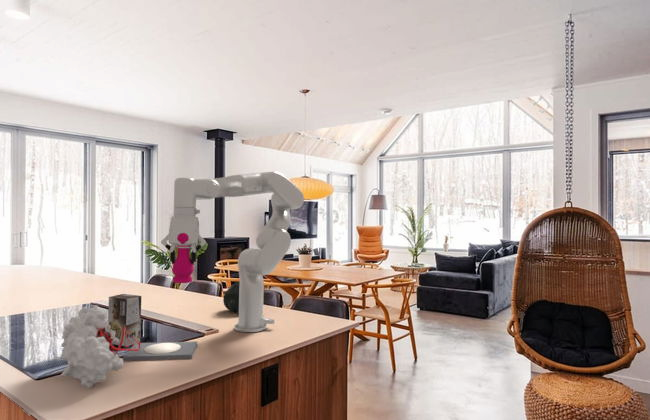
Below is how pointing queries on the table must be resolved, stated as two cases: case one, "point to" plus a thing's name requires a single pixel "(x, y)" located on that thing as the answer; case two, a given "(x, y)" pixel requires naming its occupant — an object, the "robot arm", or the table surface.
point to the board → (161, 351)
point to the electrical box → (125, 317)
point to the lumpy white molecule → (91, 347)
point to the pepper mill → (183, 261)
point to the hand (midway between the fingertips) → (183, 263)
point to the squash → (232, 298)
